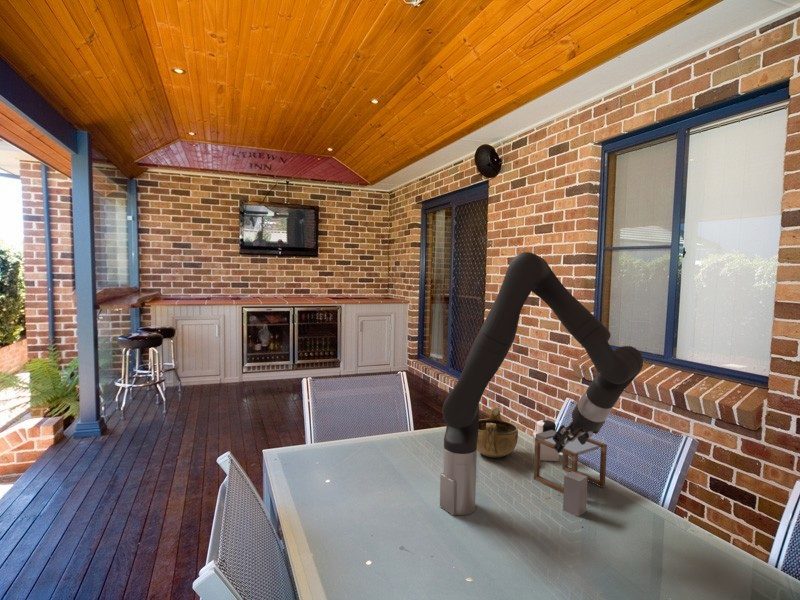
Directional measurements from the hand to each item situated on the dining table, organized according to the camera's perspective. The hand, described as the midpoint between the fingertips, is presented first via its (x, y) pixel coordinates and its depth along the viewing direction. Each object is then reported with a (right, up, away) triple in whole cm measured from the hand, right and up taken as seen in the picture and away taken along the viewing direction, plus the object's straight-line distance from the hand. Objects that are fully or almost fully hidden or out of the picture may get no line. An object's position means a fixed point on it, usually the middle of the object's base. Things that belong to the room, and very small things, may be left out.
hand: (568, 445), depth 125 cm
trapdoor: (+6, -6, +20) cm, 22 cm away
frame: (+7, -18, +19) cm, 27 cm away
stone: (+2, -19, +2) cm, 19 cm away
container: (+6, -17, +39) cm, 43 cm away
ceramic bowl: (-12, -17, +41) cm, 46 cm away
